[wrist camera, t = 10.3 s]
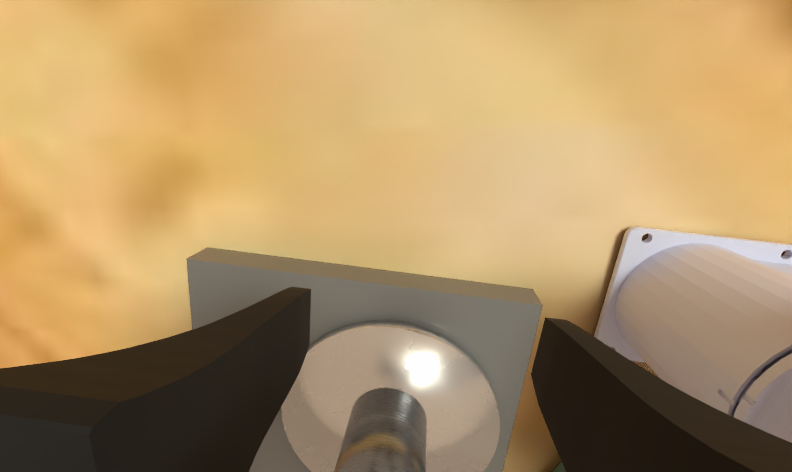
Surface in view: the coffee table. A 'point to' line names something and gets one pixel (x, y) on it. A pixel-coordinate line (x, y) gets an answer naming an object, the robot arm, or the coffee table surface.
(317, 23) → the coffee table surface
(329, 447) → the scale pan
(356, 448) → the cylinder
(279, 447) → the scale base
